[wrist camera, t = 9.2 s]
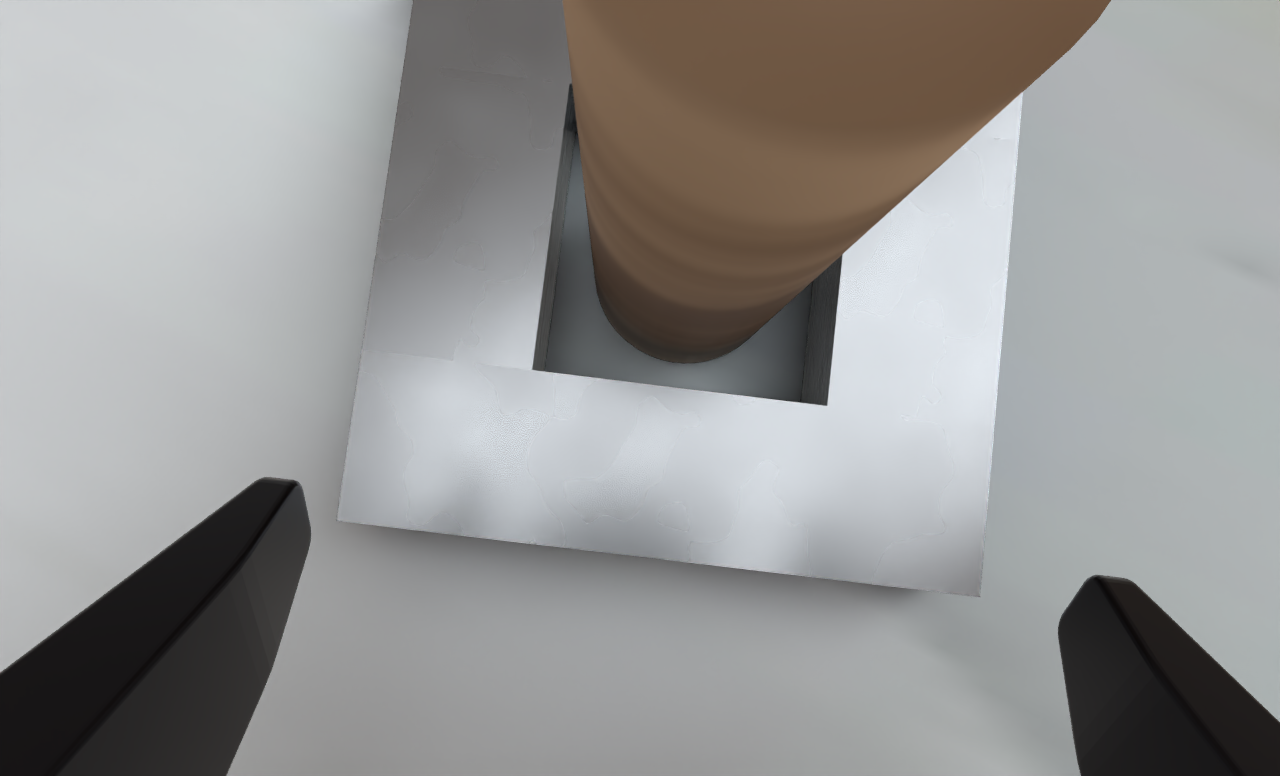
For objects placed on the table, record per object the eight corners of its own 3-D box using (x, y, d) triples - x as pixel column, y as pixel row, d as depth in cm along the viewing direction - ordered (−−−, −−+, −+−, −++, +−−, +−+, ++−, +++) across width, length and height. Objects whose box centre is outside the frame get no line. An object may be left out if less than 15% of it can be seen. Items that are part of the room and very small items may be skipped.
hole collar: (931, 578, 19) (979, 596, 16) (374, 512, 18) (335, 520, 16) (979, 44, 20) (1032, -16, 17) (451, -24, 19) (427, -95, 17)
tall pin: (716, 397, 19) (965, 246, 5) (559, 301, 19) (425, -85, 6) (810, 244, 19) (1265, -257, 6) (656, 150, 19) (748, -561, 6)
